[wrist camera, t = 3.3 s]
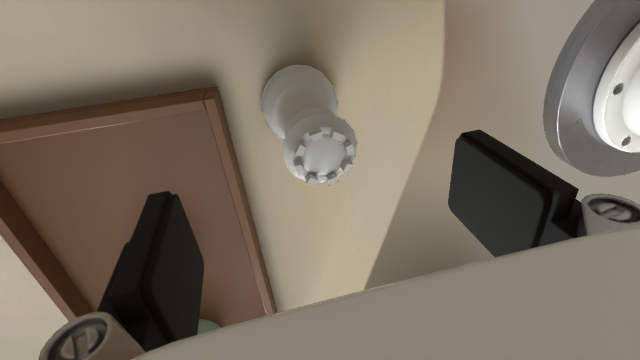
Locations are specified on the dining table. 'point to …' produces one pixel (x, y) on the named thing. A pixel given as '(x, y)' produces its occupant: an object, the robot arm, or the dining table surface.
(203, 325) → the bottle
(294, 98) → the rook chess piece
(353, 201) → the dining table surface
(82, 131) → the tray
